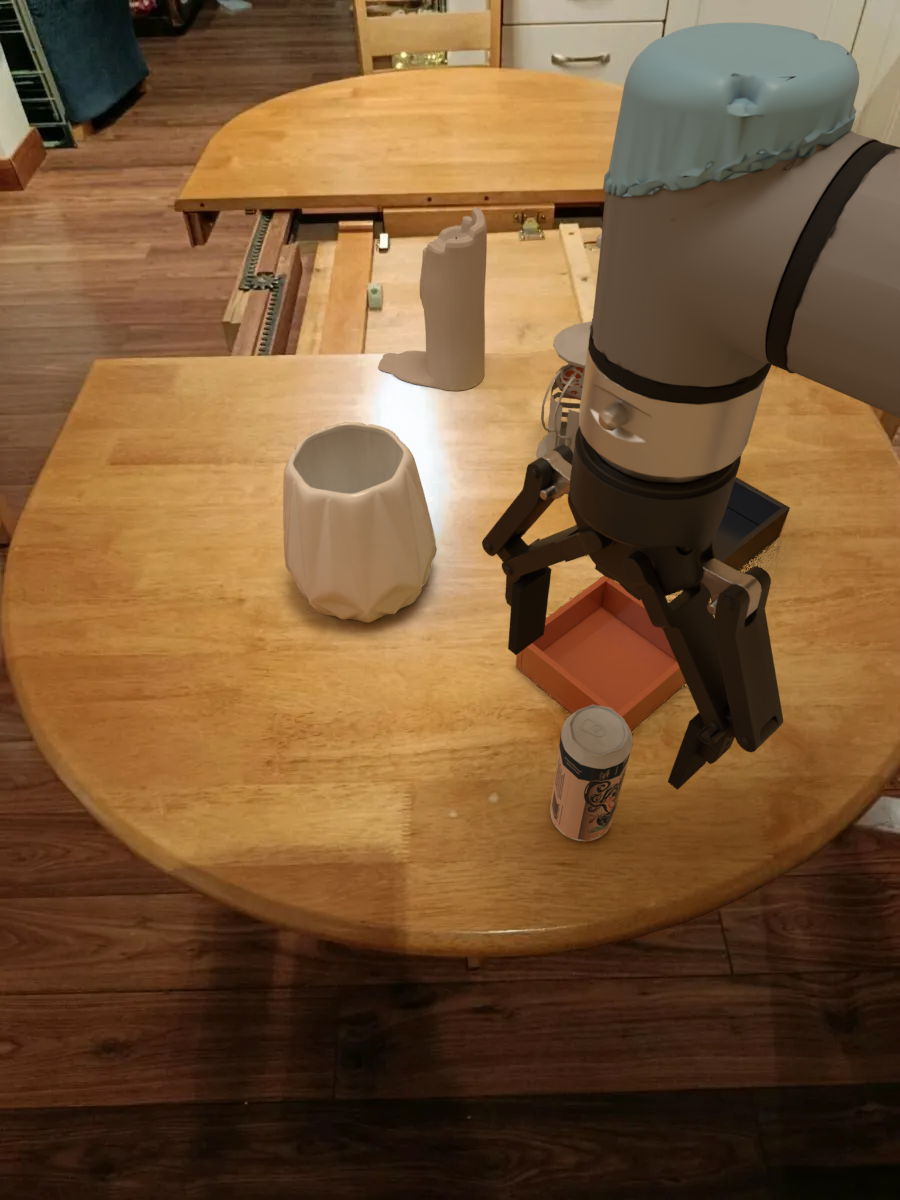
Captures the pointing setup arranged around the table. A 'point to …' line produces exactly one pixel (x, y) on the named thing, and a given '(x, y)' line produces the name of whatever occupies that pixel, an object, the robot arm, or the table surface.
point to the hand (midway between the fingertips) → (601, 703)
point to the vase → (356, 522)
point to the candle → (450, 311)
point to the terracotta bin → (603, 655)
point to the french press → (566, 385)
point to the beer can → (589, 772)
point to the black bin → (748, 525)
